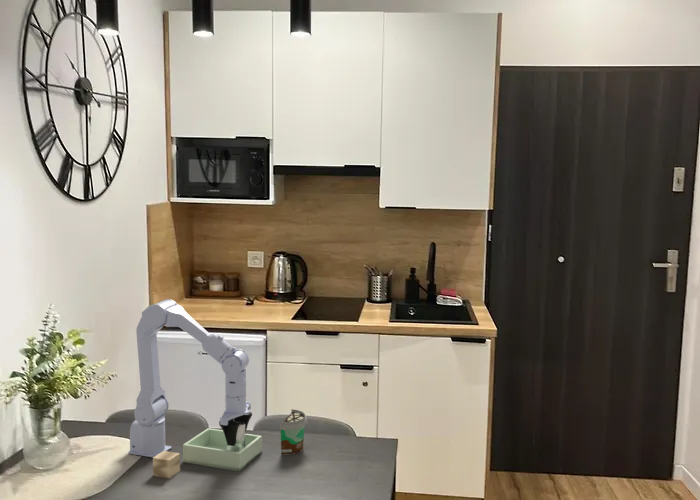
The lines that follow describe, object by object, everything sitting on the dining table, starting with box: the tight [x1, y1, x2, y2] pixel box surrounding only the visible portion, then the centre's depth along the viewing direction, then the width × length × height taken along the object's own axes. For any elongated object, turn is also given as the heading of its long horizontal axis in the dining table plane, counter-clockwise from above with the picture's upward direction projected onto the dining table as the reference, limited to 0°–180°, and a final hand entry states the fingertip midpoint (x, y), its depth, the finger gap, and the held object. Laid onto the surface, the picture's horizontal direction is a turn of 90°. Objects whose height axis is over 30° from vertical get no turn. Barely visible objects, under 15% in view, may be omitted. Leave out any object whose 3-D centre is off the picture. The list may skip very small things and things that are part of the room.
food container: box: [279, 409, 308, 455], centre depth 203 cm, size 12×6×10 cm, turn 168°
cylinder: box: [227, 421, 245, 452], centre depth 195 cm, size 5×5×7 cm
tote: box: [182, 427, 263, 472], centre depth 196 cm, size 18×14×5 cm
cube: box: [152, 450, 181, 479], centre depth 186 cm, size 5×5×5 cm
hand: (236, 441), depth 195 cm, fingers closed on cylinder, 5 cm apart
